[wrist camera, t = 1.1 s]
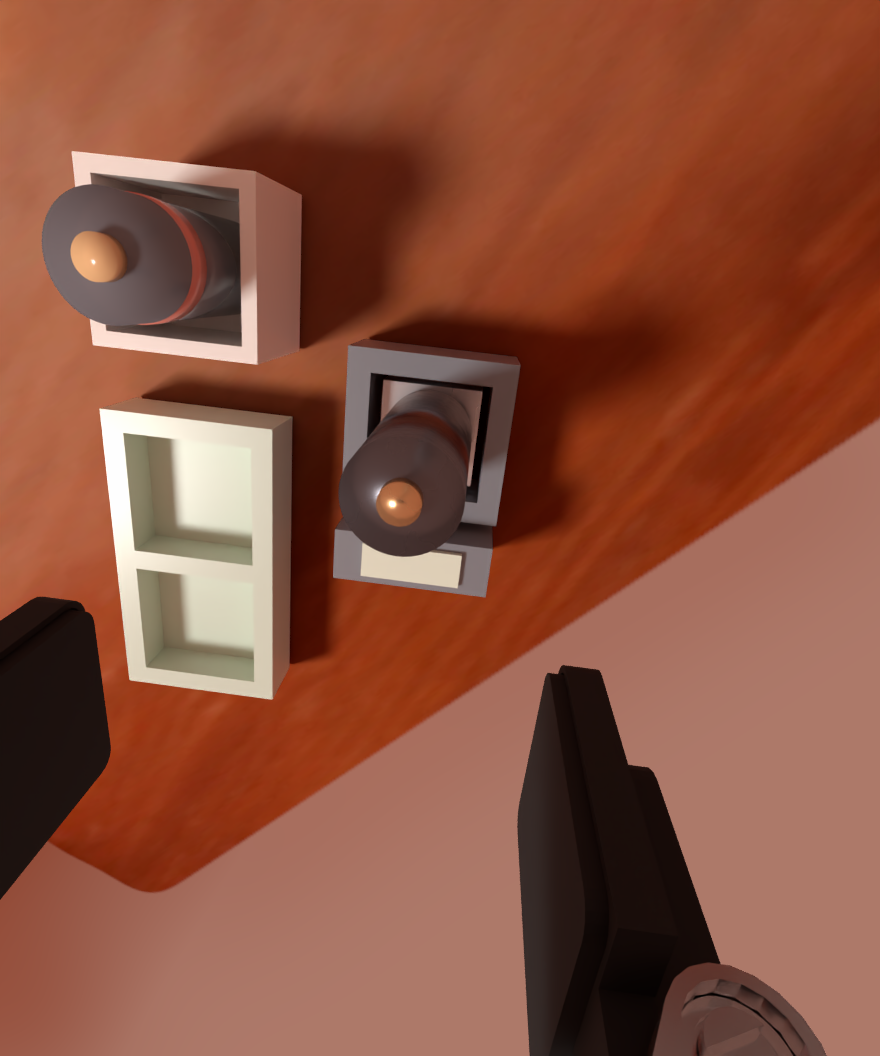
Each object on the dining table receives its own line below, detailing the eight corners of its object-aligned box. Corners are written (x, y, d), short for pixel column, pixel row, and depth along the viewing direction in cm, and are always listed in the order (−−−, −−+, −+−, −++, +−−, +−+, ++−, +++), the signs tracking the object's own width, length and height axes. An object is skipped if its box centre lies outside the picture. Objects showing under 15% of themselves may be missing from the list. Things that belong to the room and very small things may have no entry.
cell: (387, 384, 26) (336, 432, 17) (477, 395, 26) (471, 449, 17) (381, 471, 28) (331, 556, 19) (466, 481, 28) (456, 572, 19)
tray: (135, 397, 30) (99, 408, 27) (292, 416, 30) (272, 429, 27) (157, 649, 36) (129, 680, 33) (289, 667, 35) (272, 699, 33)
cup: (153, 178, 26) (-35, 115, 17) (301, 195, 26) (195, 140, 17) (164, 334, 29) (5, 356, 19) (299, 351, 28) (205, 381, 19)
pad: (388, 375, 28) (383, 379, 26) (482, 386, 28) (482, 391, 26) (382, 466, 29) (377, 474, 28) (471, 477, 29) (470, 486, 28)
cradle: (364, 338, 28) (338, 349, 23) (516, 356, 28) (522, 371, 23) (353, 535, 32) (329, 579, 27) (487, 552, 32) (487, 600, 27)
